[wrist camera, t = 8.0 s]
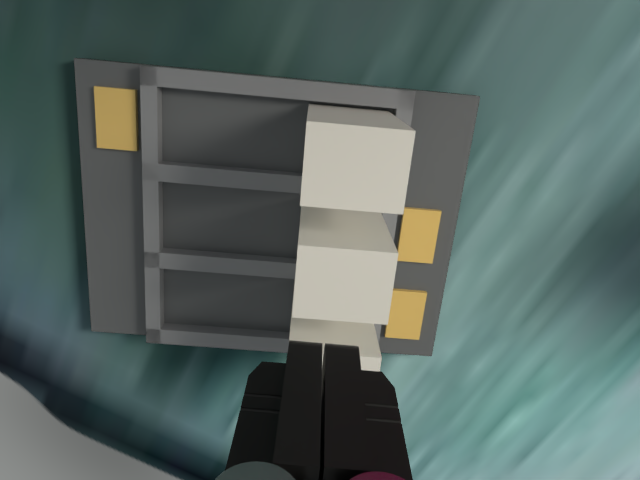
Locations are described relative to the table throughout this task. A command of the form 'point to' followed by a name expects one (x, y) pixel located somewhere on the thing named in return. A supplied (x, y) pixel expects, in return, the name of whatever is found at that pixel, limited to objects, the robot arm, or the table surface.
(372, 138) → the tab inner
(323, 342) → the block
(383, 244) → the tab middle
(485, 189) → the table surface
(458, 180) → the switch box
